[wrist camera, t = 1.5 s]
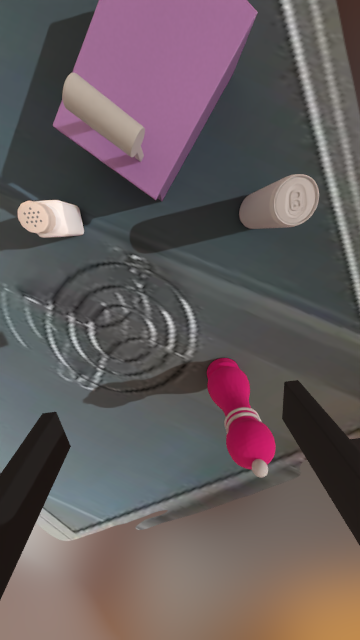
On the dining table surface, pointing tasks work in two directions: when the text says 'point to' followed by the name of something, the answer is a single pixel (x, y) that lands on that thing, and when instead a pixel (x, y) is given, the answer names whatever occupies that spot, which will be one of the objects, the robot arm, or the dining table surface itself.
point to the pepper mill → (240, 417)
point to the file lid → (149, 81)
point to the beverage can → (281, 203)
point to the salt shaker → (51, 218)
